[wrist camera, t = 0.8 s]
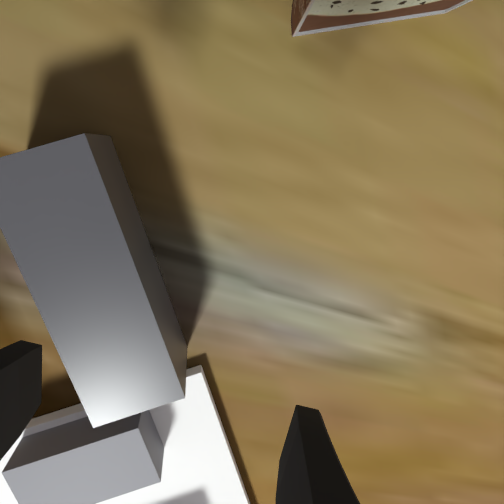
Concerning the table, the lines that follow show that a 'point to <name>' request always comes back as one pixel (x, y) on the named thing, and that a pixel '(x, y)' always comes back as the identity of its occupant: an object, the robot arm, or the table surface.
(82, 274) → the glasses case
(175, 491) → the stand
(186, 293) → the table surface
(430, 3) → the food container
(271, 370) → the table surface
